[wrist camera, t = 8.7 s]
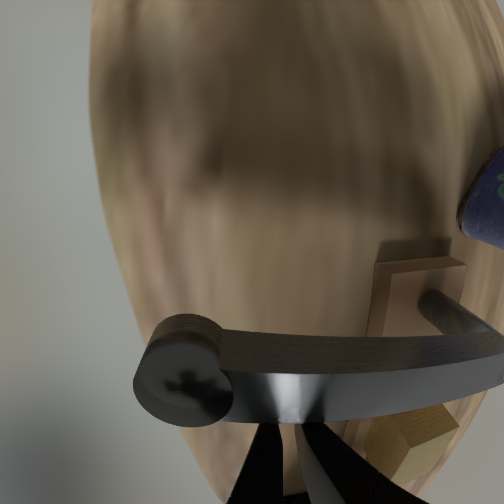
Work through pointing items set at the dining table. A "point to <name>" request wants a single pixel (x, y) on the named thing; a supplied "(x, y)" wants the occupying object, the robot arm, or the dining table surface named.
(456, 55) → the dining table surface
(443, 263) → the plane body
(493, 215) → the flask
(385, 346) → the lever
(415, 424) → the light wooden cube
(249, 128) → the dining table surface
